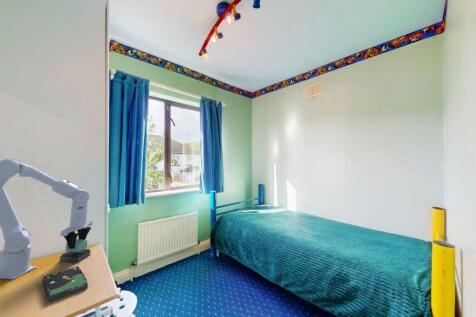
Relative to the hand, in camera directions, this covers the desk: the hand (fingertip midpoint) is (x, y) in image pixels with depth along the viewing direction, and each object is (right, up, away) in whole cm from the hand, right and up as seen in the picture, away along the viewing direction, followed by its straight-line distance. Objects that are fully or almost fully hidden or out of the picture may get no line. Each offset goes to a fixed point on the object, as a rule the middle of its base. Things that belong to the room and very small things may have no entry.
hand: (76, 245), depth 87 cm
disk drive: (+11, -7, -18) cm, 22 cm away
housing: (0, -1, 0) cm, 1 cm away
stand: (0, -6, 0) cm, 6 cm away
